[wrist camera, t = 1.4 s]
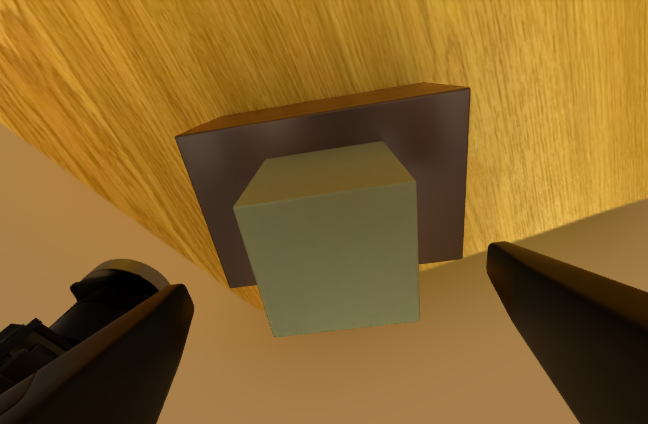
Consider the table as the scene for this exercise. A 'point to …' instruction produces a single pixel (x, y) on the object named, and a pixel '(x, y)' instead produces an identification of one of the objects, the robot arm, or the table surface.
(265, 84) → the table surface
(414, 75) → the table surface
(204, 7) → the table surface
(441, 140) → the block
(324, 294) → the block
